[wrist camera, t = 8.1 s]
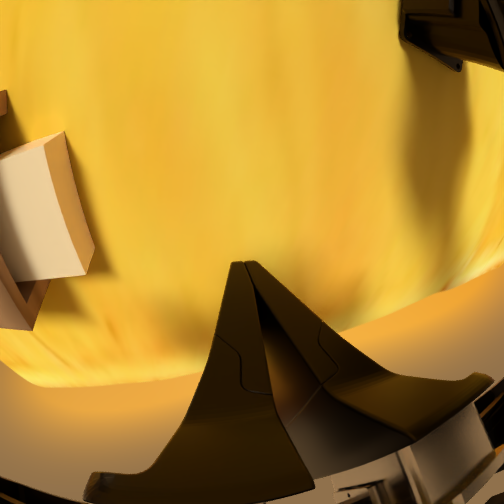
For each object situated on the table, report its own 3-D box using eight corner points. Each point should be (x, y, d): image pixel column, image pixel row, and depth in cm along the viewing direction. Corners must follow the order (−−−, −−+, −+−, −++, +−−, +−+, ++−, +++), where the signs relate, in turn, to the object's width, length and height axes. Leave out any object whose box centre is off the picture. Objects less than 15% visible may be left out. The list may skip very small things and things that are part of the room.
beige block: (66, 129, 11) (43, 145, 9) (96, 244, 16) (85, 274, 14) (-36, 170, 9) (-59, 190, 7) (-1, 259, 14) (-15, 285, 12)
